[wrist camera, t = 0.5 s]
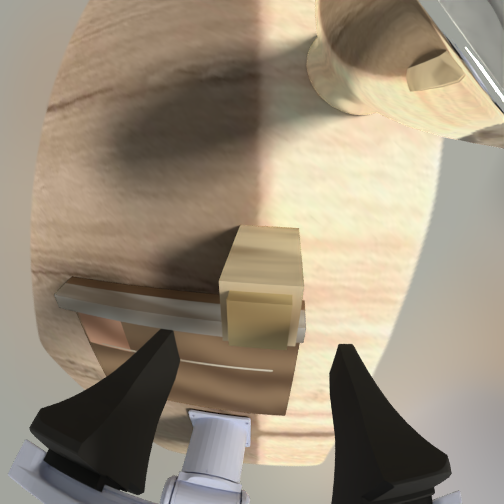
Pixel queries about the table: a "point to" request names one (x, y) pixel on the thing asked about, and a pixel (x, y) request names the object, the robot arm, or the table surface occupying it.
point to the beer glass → (414, 63)
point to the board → (183, 344)
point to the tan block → (262, 288)
